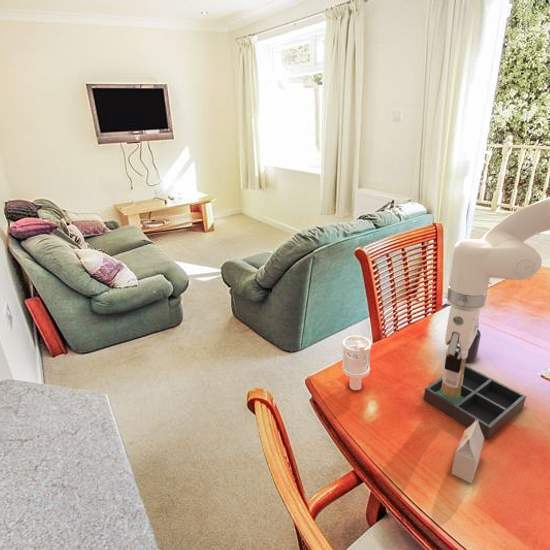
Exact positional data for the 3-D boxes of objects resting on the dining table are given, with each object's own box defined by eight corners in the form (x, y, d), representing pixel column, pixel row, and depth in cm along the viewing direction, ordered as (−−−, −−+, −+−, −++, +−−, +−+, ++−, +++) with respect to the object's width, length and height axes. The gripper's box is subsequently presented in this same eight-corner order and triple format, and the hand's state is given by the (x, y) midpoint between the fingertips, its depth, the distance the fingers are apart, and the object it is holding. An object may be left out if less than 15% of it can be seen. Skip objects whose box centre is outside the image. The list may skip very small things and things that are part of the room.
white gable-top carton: (479, 459, 78) (487, 423, 74) (471, 483, 73) (479, 445, 69) (460, 451, 80) (467, 415, 76) (451, 473, 75) (458, 436, 71)
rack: (523, 407, 90) (526, 396, 89) (487, 439, 82) (490, 427, 81) (460, 373, 102) (462, 363, 101) (423, 399, 94) (425, 388, 93)
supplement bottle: (451, 347, 114) (456, 313, 109) (476, 352, 111) (483, 317, 106) (449, 360, 108) (455, 324, 103) (476, 365, 105) (483, 329, 100)
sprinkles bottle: (464, 393, 92) (472, 347, 86) (453, 401, 89) (461, 355, 84) (447, 384, 95) (454, 339, 90) (436, 391, 93) (442, 346, 88)
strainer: (347, 397, 97) (348, 348, 91) (338, 379, 103) (339, 333, 97) (373, 393, 97) (375, 344, 91) (363, 376, 104) (365, 329, 98)
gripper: (476, 317, 73) (463, 390, 81) (493, 285, 85) (480, 352, 93) (436, 307, 78) (427, 378, 85) (458, 278, 90) (448, 342, 97)
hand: (455, 363), depth 89 cm, fingers closed on sprinkles bottle, 4 cm apart
